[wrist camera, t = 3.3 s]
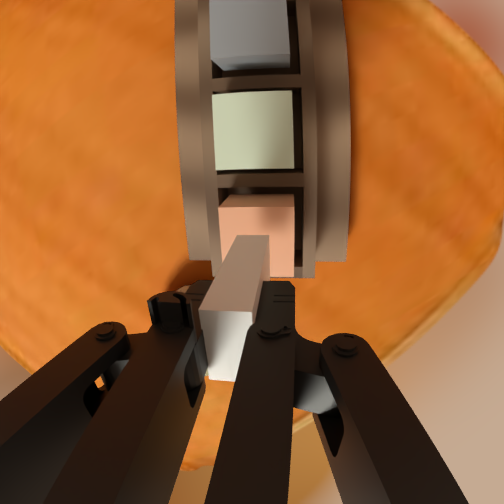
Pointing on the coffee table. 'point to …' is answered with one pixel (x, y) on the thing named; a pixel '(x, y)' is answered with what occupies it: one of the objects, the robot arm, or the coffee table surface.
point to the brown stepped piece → (304, 132)
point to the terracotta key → (261, 226)
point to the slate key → (249, 34)
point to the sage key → (253, 130)
